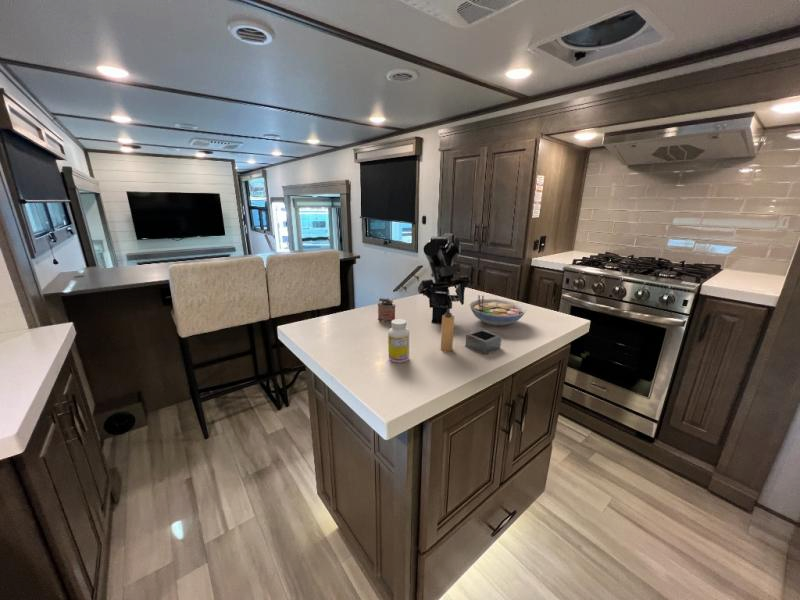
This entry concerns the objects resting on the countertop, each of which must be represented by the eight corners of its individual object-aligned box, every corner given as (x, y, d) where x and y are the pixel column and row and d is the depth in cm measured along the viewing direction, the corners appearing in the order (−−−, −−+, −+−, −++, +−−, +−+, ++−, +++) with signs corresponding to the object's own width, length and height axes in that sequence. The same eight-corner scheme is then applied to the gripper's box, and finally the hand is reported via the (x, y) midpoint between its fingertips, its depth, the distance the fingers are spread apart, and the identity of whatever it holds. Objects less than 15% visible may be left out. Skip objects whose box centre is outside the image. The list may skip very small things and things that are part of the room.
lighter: (396, 321, 134) (396, 298, 131) (393, 323, 131) (393, 300, 128) (380, 318, 137) (379, 296, 134) (376, 320, 134) (376, 298, 131)
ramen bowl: (527, 337, 118) (530, 317, 115) (466, 331, 123) (467, 311, 121) (521, 315, 141) (523, 298, 139) (469, 311, 147) (470, 294, 144)
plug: (439, 351, 106) (441, 310, 102) (441, 346, 110) (443, 306, 106) (451, 352, 105) (454, 311, 101) (452, 347, 109) (455, 307, 105)
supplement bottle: (393, 352, 105) (393, 316, 101) (412, 356, 103) (412, 319, 99) (385, 361, 99) (384, 323, 95) (404, 365, 97) (404, 326, 93)
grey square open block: (484, 354, 104) (486, 342, 102) (465, 346, 110) (466, 334, 109) (500, 348, 109) (501, 336, 107) (480, 340, 115) (481, 328, 114)
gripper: (421, 257, 105) (434, 299, 99) (470, 253, 111) (485, 292, 105) (412, 274, 115) (424, 312, 109) (457, 269, 121) (470, 306, 115)
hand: (451, 305), depth 109 cm, fingers open, 9 cm apart
